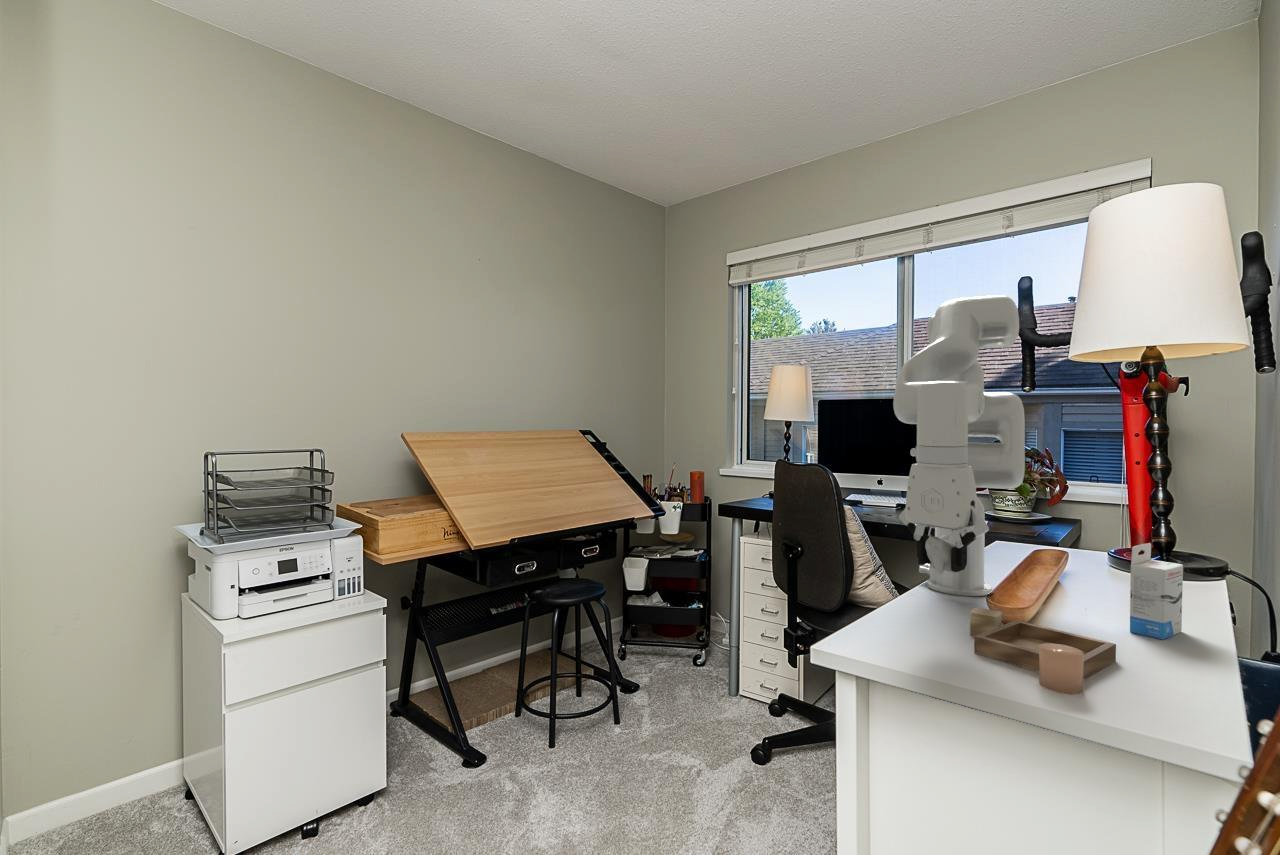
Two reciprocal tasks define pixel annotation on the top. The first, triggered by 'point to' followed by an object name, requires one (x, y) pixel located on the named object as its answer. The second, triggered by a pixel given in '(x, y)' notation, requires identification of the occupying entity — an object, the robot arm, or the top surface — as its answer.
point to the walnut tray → (1024, 639)
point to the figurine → (939, 553)
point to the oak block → (984, 620)
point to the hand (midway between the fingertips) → (941, 565)
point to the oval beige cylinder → (1061, 668)
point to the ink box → (1155, 595)
